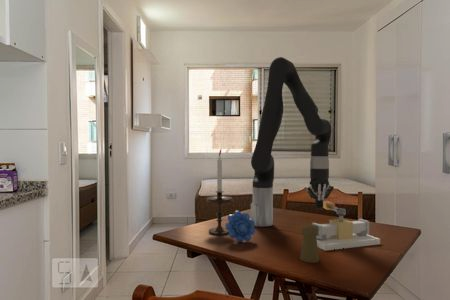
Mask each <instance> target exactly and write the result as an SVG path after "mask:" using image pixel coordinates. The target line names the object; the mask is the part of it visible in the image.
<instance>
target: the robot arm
mask: <svg viewBox="0 0 450 300" xmlns="http://www.w3.org/2000/svg"><path fill="white" fill-rule="evenodd" d="M268 70H269V71H268V78H267V88H266V93H265V98H264V102H263V107H262V112H261V117H260V122H259V126H258V132H257V133H258V134H257V140H256V144H255V146H254V147H255V148H254V150H253V153H252V156H251V160H250V165H251V168H252V169H253V171H254V177H253V179H252V202H251V203H250V219H253V220H254V222H255V225H254V226H255V227H261V228H263V227H271V226H273V224H274V222H273V221H274V219H273V217H274V211H273V210H274V208H273V207H274V203H273V202H274V200H273V199H274V198H273V197H274V191H273V190H274V180H275V159H274V156H273V154H272V152H273V145H274V142H275V140H276V137H277V135H278V133H279V130H280V127H281V124H282V120H283V117H284V109H285V107H284V99H283V88H284V84H285V86H286V87H287V88H288V90H289V91H290V93H291V96H292V100H293V102H294V104H295V106H296V108H297V109H298V111H299V113H300V115H301V116H302V117H303V121H304V123H305V127H306V129H307V130H308V132H309V133H310V134H311V135H313V136H315V138H314V141H312V143H311V144H310V145H311V146H310V159H309V161H310V162H309V166H310V167H309V168H310V169H309V178H310V181H309V185H307V186H304V190H305V191H306V193H308V195H309V196H310V197H309V198H311V199H312V200H314V201H315V208H316V210H322V209H323V201H325V199H328V198H329V196H330V195H331V194H332V192H333V191H334V189H335V188H334V185H333V186H332V185H331V184H330V180H329V178H330V160H329V154H330V153H329V145H330V142H331V138H332V137H331V136H332V124H331V123H330V121H329V120H327V119H323V118H321V117H320V115H319V108H318V107H317V105H316V103H315V101H314V100H313V98H312V97H311V96H310V94H309V93H308V91H307V89H306V88H305V86H304V84H303V82H302V80H301V78H300V75H299V73H298V71H297V69H296V67H295V65H294V63H293V62H292V61H291V60H288V59H286V58H285V57H284V56H283V57H282V56H278V57H275V58H274V59H273V60H272V61H271V63H270V67H269V69H268ZM254 226H253V227H254Z"/></svg>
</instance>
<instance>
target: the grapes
mask: <svg viewBox="0 0 450 300" xmlns="http://www.w3.org/2000/svg"><path fill="white" fill-rule="evenodd" d="M227 221H228V222H226V223H225V228H227V229H228V230H230V231H229V234H228V235H229V237H230V238H231V239H236V242H238V243H242V242H244V241H246V242H250V241H251V240H252V236H254V235H256V228H254V225H255V222H254V220H253V219H251V218H250V214H249V213H248V212H243V213H242V212H241V211H239V210H235V211H234V213H233V214H229V215H228V216H227Z"/></svg>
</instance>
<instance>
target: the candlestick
mask: <svg viewBox="0 0 450 300" xmlns="http://www.w3.org/2000/svg"><path fill="white" fill-rule="evenodd" d="M221 154H222V149H220V150H219V153H218V159H217V160H216V161H217V163H216V164H217V167H216V169H217V172H216V174H217V175H216V176H217V177H216V178H217V180H216V181H217V182H216V183H217V186H216V189H217V190H216V191H214V193H216V195H214V196H207V197H206V202H208V203H214V204H216V205H217V212H216V218H217V219H216V222H217V226H216V227H213V228H209V229H208V234H209V235H211V236H227V235H229V231H231V230H228V229H227V228H226V227H223V226H222V222H223V219H222V217H223V216H224V213H223V212H222V205H223V204H225V203H226V204H227V203H231V202H233V197H232V196H225V195H223V193H224V192H225V191H223V188H222V187H223V185H222V184H223V159H222V158H221Z"/></svg>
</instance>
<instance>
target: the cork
mask: <svg viewBox="0 0 450 300" xmlns="http://www.w3.org/2000/svg"><path fill="white" fill-rule="evenodd" d="M301 234H302V242H301V250H300V256H299V259H300V261H302V262H305V263H318V262H320V255H319V254H320V253H319V248H318V246H317V238H316V236H317V234H318V228H317V227H316V226H314V225H312V224H304V225H302V227H301Z"/></svg>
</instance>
